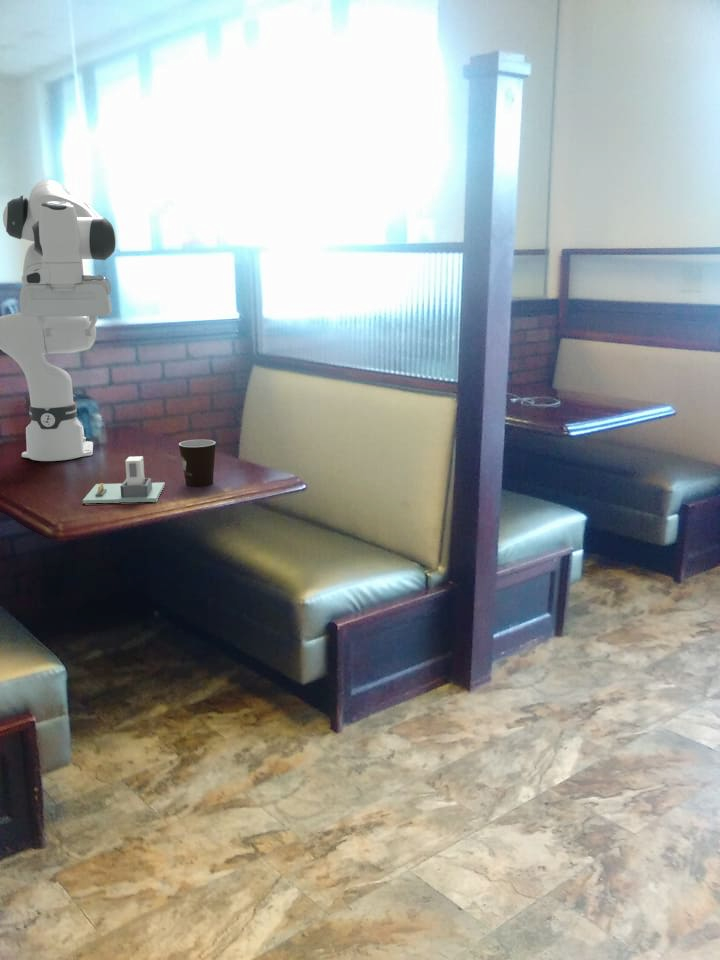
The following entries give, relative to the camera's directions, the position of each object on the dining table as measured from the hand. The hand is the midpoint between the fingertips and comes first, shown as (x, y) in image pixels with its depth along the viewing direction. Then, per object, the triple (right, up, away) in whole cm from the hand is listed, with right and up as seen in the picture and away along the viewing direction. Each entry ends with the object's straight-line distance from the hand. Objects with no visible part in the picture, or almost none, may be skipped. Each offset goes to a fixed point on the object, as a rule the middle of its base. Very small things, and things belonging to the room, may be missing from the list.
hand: (68, 336), depth 204 cm
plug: (+17, -37, -6) cm, 41 cm away
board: (+14, -37, -4) cm, 40 cm away
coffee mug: (+29, -34, +7) cm, 46 cm away
